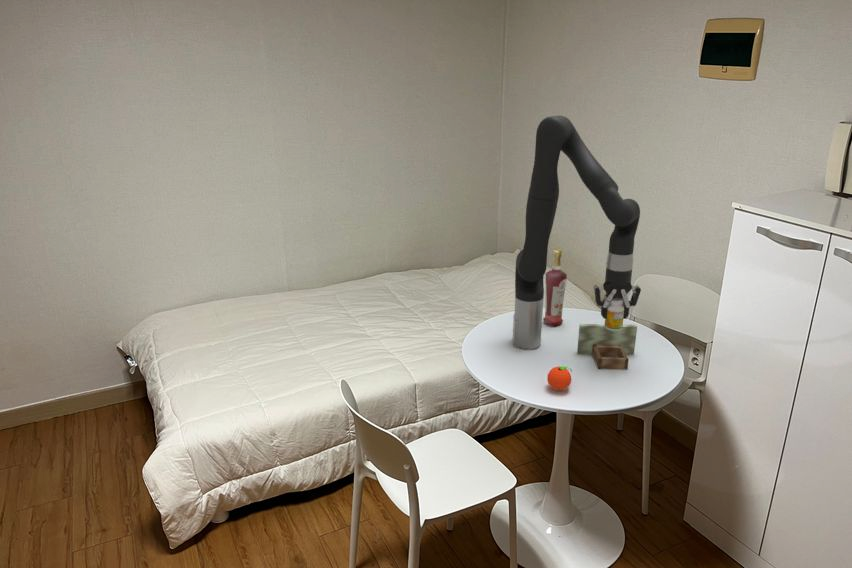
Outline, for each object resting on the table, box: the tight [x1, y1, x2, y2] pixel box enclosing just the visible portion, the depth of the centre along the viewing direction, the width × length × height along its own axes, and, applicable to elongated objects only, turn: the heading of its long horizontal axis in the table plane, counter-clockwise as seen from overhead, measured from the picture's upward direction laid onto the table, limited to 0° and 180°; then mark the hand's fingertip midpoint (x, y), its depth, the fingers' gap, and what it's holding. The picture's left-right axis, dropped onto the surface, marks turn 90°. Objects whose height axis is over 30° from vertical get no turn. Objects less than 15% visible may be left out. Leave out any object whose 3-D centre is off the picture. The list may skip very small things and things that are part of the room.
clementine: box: [547, 366, 572, 391], centre depth 181 cm, size 8×7×7 cm
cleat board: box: [576, 323, 638, 370], centre depth 196 cm, size 18×12×10 cm, turn 87°
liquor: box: [543, 248, 568, 327], centre depth 220 cm, size 7×7×28 cm
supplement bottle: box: [604, 298, 624, 331], centre depth 191 cm, size 5×5×10 cm
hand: (614, 317), depth 191 cm, fingers closed on supplement bottle, 5 cm apart
